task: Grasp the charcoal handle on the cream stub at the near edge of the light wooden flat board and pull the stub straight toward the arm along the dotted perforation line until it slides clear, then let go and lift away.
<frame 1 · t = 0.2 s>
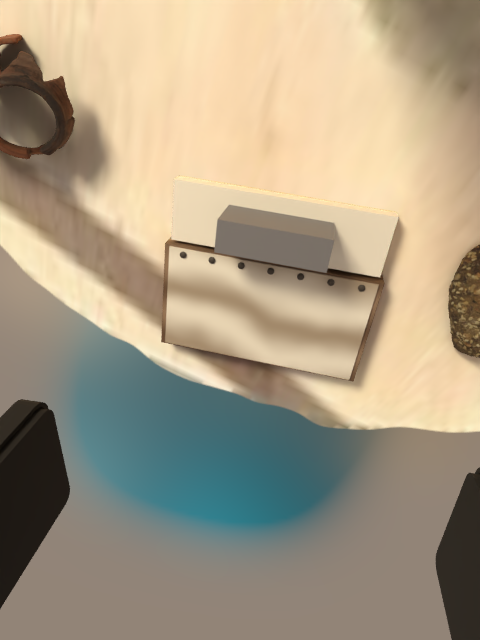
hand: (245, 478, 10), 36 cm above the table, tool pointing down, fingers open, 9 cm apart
light wooden flat board: (265, 306, 48), on the table
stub: (276, 234, 41), point 3 cm above the table, slide at 0.0 cm
rusty gear assembly: (27, 98, 42), on the table
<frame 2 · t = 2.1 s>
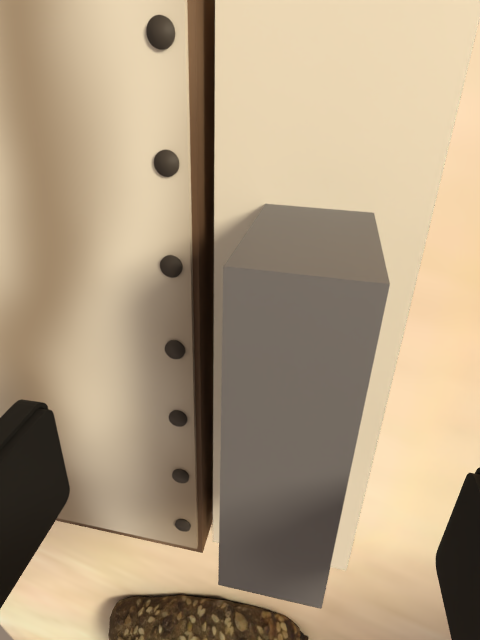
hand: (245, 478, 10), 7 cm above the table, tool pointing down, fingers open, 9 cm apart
light wooden flat board: (70, 302, 18), on the table
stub: (296, 388, 13), point 3 cm above the table, slide at 0.0 cm
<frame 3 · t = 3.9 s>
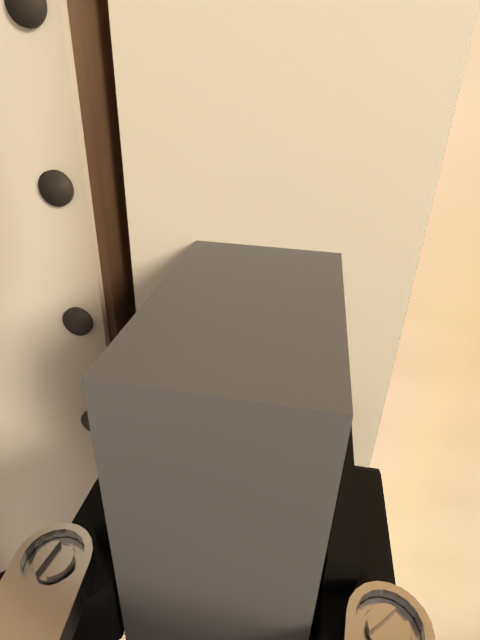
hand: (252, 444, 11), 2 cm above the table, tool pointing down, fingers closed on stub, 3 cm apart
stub: (244, 481, 10), point 3 cm above the table, slide at 0.0 cm, touching gripper
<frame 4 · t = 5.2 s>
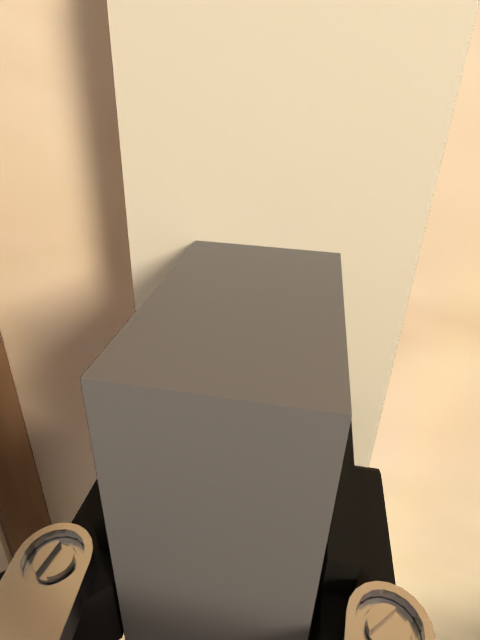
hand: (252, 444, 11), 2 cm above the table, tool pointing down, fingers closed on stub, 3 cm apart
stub: (244, 481, 10), point 3 cm above the table, slide at 4.9 cm, touching gripper
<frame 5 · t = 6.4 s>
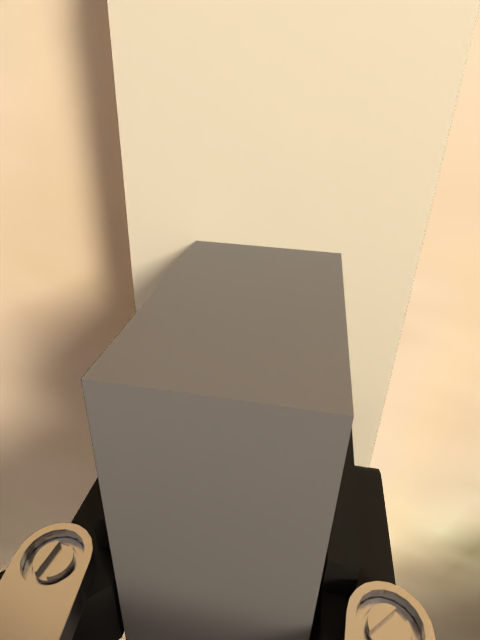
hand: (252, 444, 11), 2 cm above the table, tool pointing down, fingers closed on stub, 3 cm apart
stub: (244, 482, 10), point 3 cm above the table, slide at 10.1 cm, touching gripper
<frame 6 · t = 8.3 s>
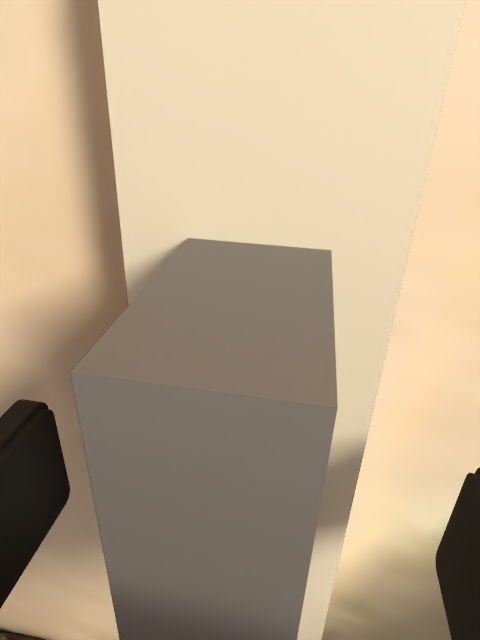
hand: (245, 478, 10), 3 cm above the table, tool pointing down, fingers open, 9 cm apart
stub: (237, 477, 10), point 3 cm above the table, slide at 10.1 cm
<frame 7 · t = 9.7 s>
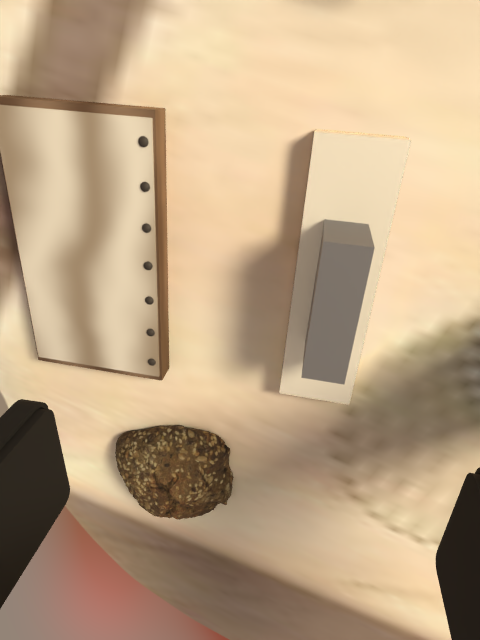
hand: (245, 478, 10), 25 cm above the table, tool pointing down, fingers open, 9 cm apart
light wooden flat board: (98, 248, 37), on the table
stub: (334, 297, 31), point 3 cm above the table, slide at 10.1 cm
bread roll: (180, 465, 48), on the table
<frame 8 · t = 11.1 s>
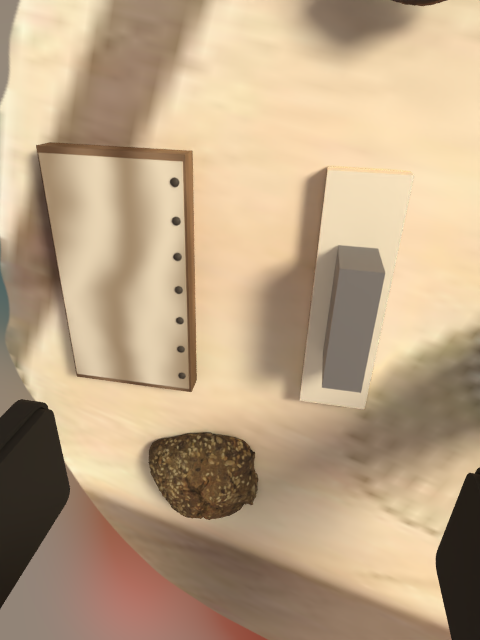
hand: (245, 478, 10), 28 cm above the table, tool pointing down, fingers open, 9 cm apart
light wooden flat board: (131, 274, 41), on the table
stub: (349, 314, 35), point 3 cm above the table, slide at 10.1 cm
bread roll: (208, 469, 52), on the table
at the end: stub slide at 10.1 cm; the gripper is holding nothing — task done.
